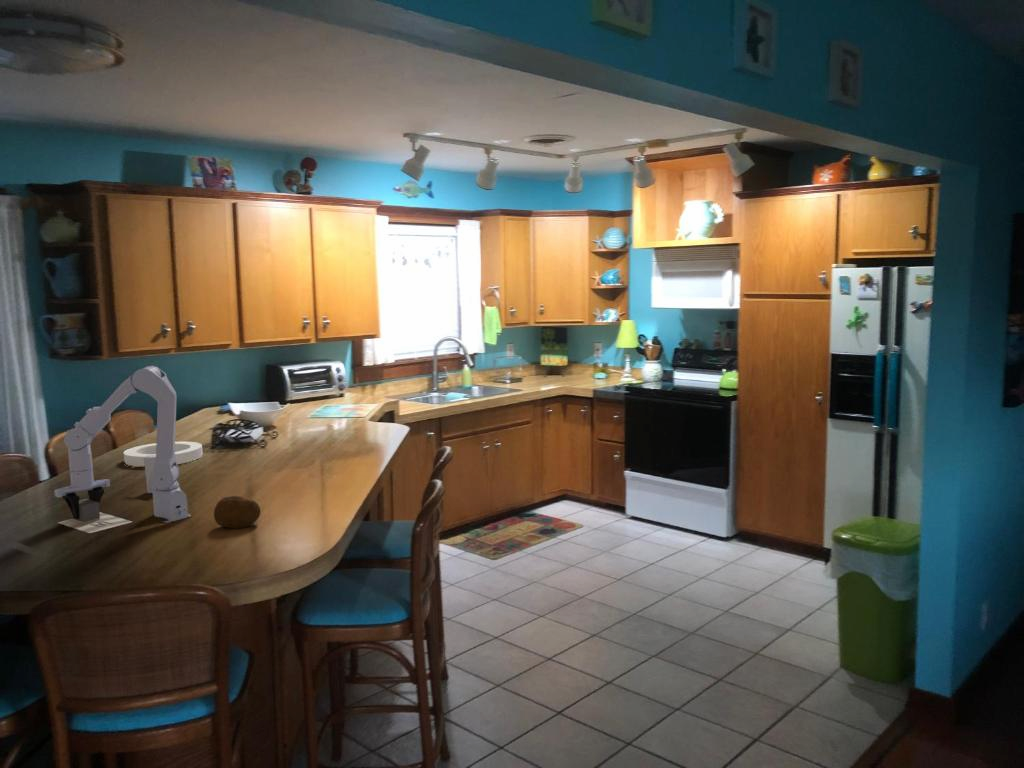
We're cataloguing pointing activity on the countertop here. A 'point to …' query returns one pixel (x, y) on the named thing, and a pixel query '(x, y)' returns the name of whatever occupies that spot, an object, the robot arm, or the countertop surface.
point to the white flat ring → (137, 454)
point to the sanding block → (87, 511)
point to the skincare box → (149, 470)
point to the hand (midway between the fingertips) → (85, 516)
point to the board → (96, 523)
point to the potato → (236, 512)
